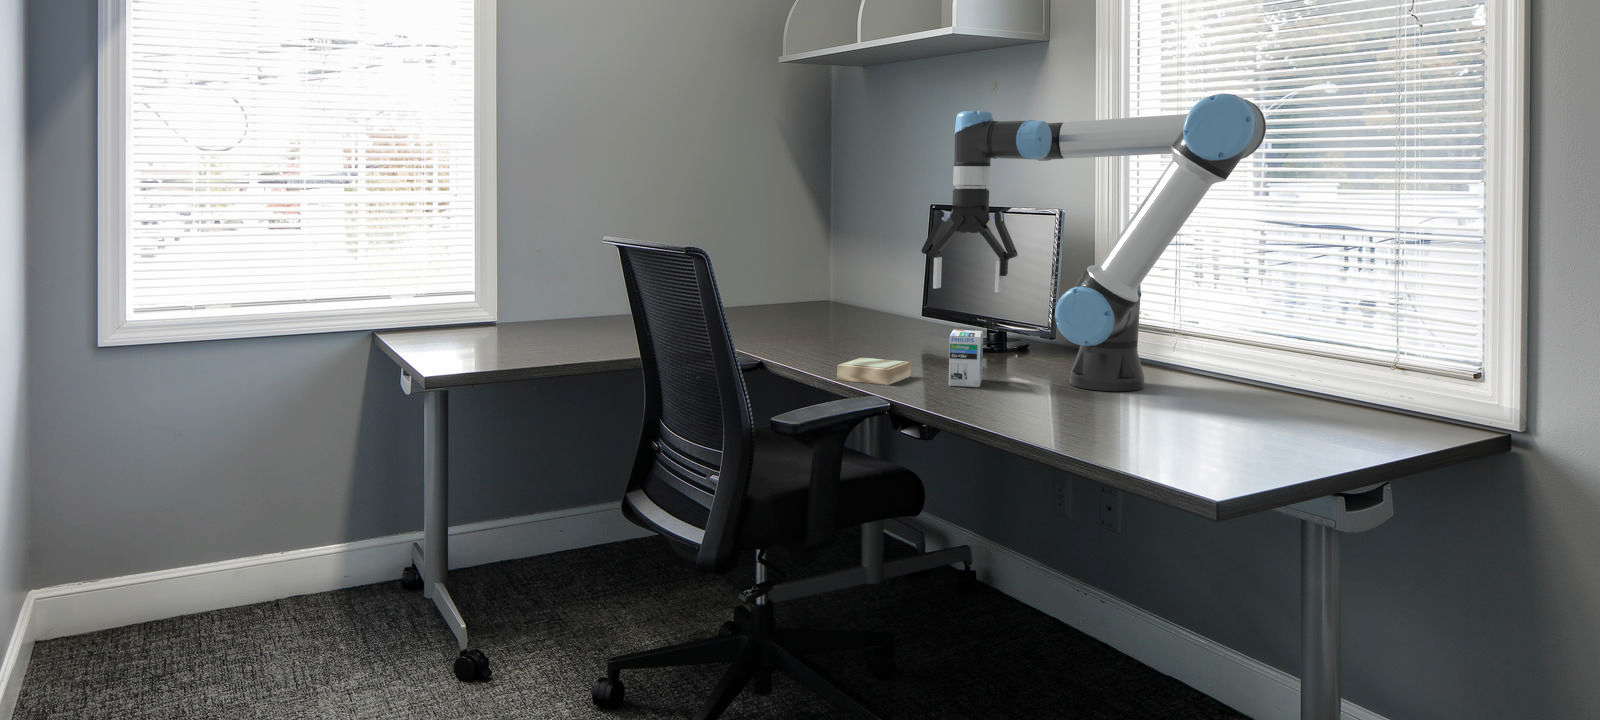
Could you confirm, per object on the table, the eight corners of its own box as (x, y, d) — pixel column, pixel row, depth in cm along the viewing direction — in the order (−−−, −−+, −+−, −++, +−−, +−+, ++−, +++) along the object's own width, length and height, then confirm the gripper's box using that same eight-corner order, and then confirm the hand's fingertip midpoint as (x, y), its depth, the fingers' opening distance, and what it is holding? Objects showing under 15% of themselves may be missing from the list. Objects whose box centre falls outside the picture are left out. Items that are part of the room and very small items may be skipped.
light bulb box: (980, 388, 232) (981, 336, 230) (947, 386, 233) (949, 335, 232) (982, 379, 242) (983, 329, 241) (951, 378, 244) (952, 328, 242)
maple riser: (910, 376, 245) (910, 361, 244) (888, 384, 234) (888, 368, 234) (860, 371, 251) (861, 356, 250) (837, 379, 240) (837, 364, 240)
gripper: (1035, 188, 229) (1030, 291, 232) (921, 186, 241) (918, 285, 244) (1024, 188, 222) (1019, 295, 226) (908, 186, 234) (905, 287, 237)
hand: (967, 290), depth 235 cm, fingers open, 13 cm apart
